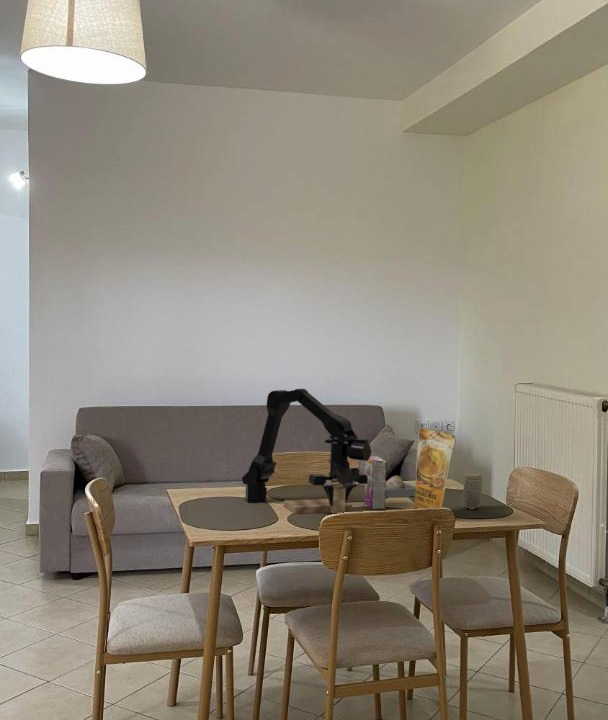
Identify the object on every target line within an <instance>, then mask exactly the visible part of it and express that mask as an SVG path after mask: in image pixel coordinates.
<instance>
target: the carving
mask: <svg viewBox="0 0 608 720" xmlns="http://www.w3.org/2000/svg"><path fill="white" fill-rule="evenodd" d="M482 488H483V477H482V475H481V474H480V473H475V472H473V473H472V472H471V473H469V472H467V473H464V475H463V490H462V498H461V500H462V507H463V508H464V507H465V508H478V507H479V508H480V507H482ZM465 508H464V509H465ZM479 508H478V509H479Z"/></svg>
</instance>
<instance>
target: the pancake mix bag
mask: <svg viewBox="0 0 608 720" xmlns="http://www.w3.org/2000/svg"><path fill="white" fill-rule="evenodd" d="M456 440H457V439H456V436H455V435H454V434H453V433H450V432H446V431H440V430H437V429H432V428H426V427H420V428H417V444H416V445H417V446H416V447H417V450H416V462H415V487H416V492H415V497H414V506H413V510H414V509H418V508H441V509H442V506H443V502H444V499H445V498H444V497H445V490H446V486H447V481H448V476H449V472H450V468H451V464H452V463H451V462H452V459H453V458H452V457H453V454H454V450H455V447H456V443H457V442H456Z"/></svg>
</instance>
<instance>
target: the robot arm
mask: <svg viewBox="0 0 608 720" xmlns="http://www.w3.org/2000/svg"><path fill="white" fill-rule="evenodd" d="M266 397H267V398H266V399H267V400H266V409H267V417H266V421H265V425H264V430H263V434H262V436H261V441H260V445H259V448H258V449H259V450H258V453H257V454H256V456H254V458H253V459H252V461H251V463H250V466H249V468H248V471H246V473H245V474H244V475H243V476H241V477H242V478H241V481H242V484H243V485H245V495H244V496H245V497H243V500H245V502H248V503H266V502H267V492H268V491H267V489H268V488H267V487H266V483H268V482H269V480H270V477H272V475H273V474H275V468H276V465H277V462H276V461H274V459H273V453H274V449H275V447H276V446H275V445H276V442H277V437H278V435H279V434H278V433H279V430H280V425H281V422H282V418H283V416H284V415H285V414H286V413H287V411H288V410H289V408H290V406H291V403H295V402H298V403H299V404H300V405H301V406H302V407H304V408H305V409H306V410H307V411H308V412H310V413H311V414H312V415H313V416H314V417H316V418H317V419H318V420H319V421H320V422H321V423H322V425H323V427H324V429H325V430H326V431H327V433H328V434H329V437H328V438H327V439H326V440H324V443H325V444H330V459H329V460H328V463H329V465H330V466H329V471H328V476H327V475H323V474H321V473H311V474H309V477H308V483H309V484H311V485H313V486H321V487H322V488H323V490H324V492H325V494H326V496H327V497H326V498H327V499H328V500H329V503H330V505H331V506H332V505H333V491H332V490H333V487H335V486H334V485H332V483H339V484H340V485H342V487H343V488H345V489H346V490H345V504H346V502H347V501H348V499H349V496H350V494H351V492H352V490H353V489H354V488H356V487H358V485H357V483H358V484H359V485H365V484H368V477H367V476H366V475H365V473H362V472H360V469H359V468H358V467H352V468H350V462H349V459H350V460H357V461H364V462H365V461H368V460H369V458H370V456H372V448H371V444H370V443H369V439H367V438H363V439H362V438H358V437H357V434H356V433H355V431H354V430H353V428H352V422H351V421H350V420H349V419H347V418H345V417H344V416H341V415H339V414H336V413H334V412H332V411H331V409H329V408H327V406H325V405H324V404H323V403H321V402H320V401H319V400H318V399H317V398H316V397H314V396H313V395H312V394H311V393H310V392H309V391H308V389H305V388H295V389H293V390H284V389H283V390H282V389H279V390H271V391H270V392H269V393H268V394H267V396H266ZM356 482H357V483H356Z"/></svg>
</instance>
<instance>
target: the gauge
mask: <svg viewBox="0 0 608 720" xmlns="http://www.w3.org/2000/svg"><path fill="white" fill-rule="evenodd" d="M345 490H346V489H345V488H343V486H336V487H335V486H334V487H333V490H332V491H333V505H332V506H331V505H330V512H329V513H331V514H333V513H338V514H340V513H339V512H345ZM326 499H327V502H328V503H329V500H328V498H326ZM345 513H346V512H345Z"/></svg>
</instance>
